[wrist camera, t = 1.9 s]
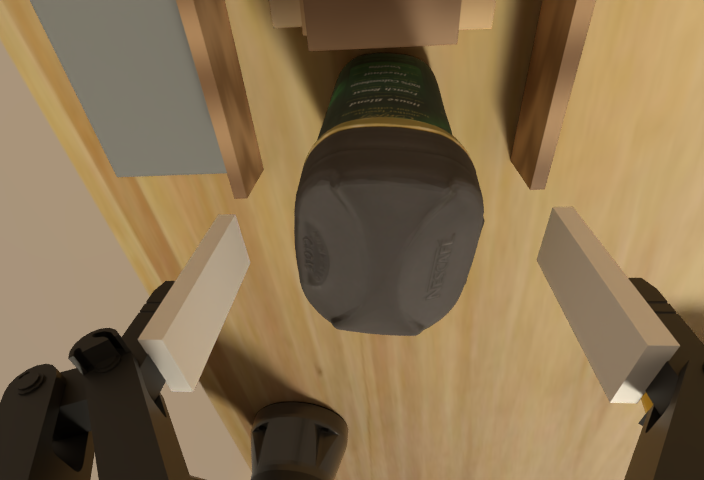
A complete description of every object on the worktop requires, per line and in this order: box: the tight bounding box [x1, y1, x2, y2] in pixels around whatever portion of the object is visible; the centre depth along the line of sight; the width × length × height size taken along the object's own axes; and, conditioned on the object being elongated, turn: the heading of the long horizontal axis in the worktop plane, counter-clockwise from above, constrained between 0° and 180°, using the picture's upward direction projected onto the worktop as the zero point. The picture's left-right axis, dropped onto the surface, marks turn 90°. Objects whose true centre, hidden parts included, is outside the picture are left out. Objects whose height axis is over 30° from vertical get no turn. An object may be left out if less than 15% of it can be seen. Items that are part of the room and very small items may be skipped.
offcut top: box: [303, 0, 462, 51], centre depth 20 cm, size 4×8×2 cm, turn 93°
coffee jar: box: [294, 53, 484, 336], centre depth 22 cm, size 10×8×19 cm
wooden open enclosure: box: [176, 0, 596, 199], centre depth 25 cm, size 16×23×5 cm
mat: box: [30, 0, 227, 177], centre depth 29 cm, size 14×11×1 cm
